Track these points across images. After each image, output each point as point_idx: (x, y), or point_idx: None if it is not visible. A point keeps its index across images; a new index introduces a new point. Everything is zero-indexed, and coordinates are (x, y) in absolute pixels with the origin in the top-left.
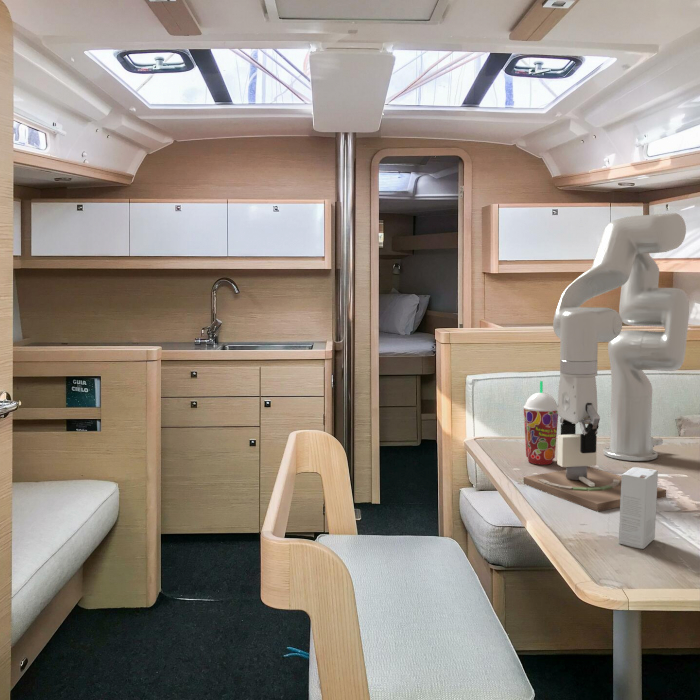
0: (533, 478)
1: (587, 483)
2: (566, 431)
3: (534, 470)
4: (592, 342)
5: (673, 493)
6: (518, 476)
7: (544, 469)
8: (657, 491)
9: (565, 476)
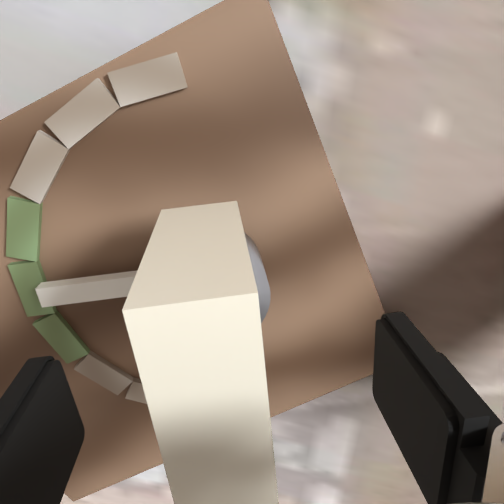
0: (227, 40)
1: (70, 281)
2: (412, 400)
3: (482, 137)
4: None
5: (124, 501)
6: (402, 9)
7: (483, 191)
8: None
9: (257, 229)
